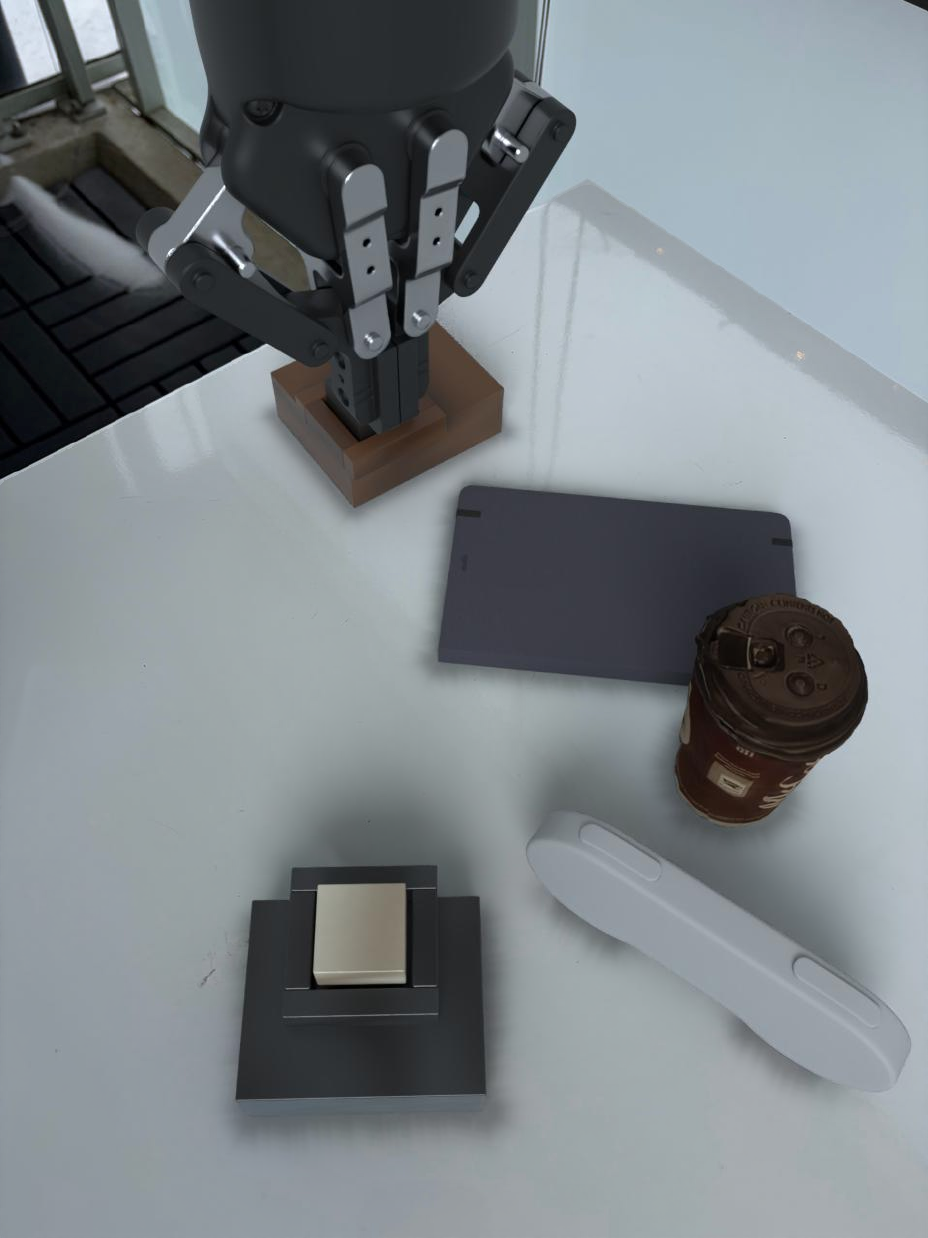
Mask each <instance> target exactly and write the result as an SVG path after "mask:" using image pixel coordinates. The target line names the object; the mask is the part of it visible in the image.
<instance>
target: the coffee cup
mask: <svg viewBox="0 0 928 1238" xmlns="http://www.w3.org/2000/svg"><path fill="white" fill-rule="evenodd" d="M706 619H707V621H706V622H705V623H704V624H703V628H702V629H701V632H700V634H698V635H697V636H696V637H695V642H696V644H697V656H696V659H695V661H694V667H693V671H692V676H691V680H690V684H689V686H688V689H687V698H686V705H685V708H684V712H683V717H682V720H681V723H680V727H679V733H678V738H679V743H680V745H679V747H678V749H677V752H676V755H675V761H674V762H675V763H674V768H673V776H674V778H675V783H676V788H677V794H678V795H679V798H681V800H682V801H684V802H685V803H686V804H687V805H688V806H689V807H690V808H691V809H692V810H693V812H694V813H695V814H696V815H697V816H699V817H702V818H705V820H706V821H707V822H709V823H710V824H715V825H718V826H721V827H724V828H739V827H742V826H747V825H751V824H754V823H757V822H761V821H763V820H764V819H766V818H768V817H769V816H770V815H772V814H773V813H774V812H776V811H777V809H778V808H779V806H780V805H781V804H782V803H783V802H784V800H786V798H787V796H788V795H790V794H792V792H794V791H795V789H796V788H797V787H798V786H799V785H800V783H801V782H802V781H803V780H804V779H805V778H806V776H808V774H809V773H810V772H811V771H812V769H814V768H815V766H816V765H818V763H819V762H820V761H821V760H822V759H823V758H824V757H825V756H827V755H830V754H831V753H833V752H835V751H837V750H838V749H839V748H840V747H843V745H844V744H846V742H847V741H848V740H849V739H850V738H851V737H852V735H853V734H854V732H855V730H857V728H858V727H859V725H861V722H862V720H863V717H864V715H865V712H866V709H867V705H868V702H869V681H868V676H867V671H866V667H865V663H864V660H863V659H862V656H861V654H860V652H859V651H858V649H857V648H856V646H855V643H854V639H853V638H852V635H851V634H850V632H849V630H848V628H846V626H844V624H843V622H842V620H841V619H839V618H838V617H836V616H834V615H833V614H832V613H831V612H830V611H829V610H828V609H826V608H823V607H822V606H820V605H818V604H815V603H812V602H811V601H809V600H808V599H807V598H802V597H798V596H797V595H796V596H794V595H789V594H784V593H776V594H775V595H773V596H770V595H764V596H762V595H760V597H757V598H754V597H752V598H750V599H748V600H745V601H742V602H738V603H733V604H730V605H728V606H725V607H723V608H721V609H719V610H717V611H715V612H714V613H713V614H711V615H708V616H706Z"/></svg>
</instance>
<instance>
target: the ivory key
mask: <svg viewBox="0 0 928 1238" xmlns="http://www.w3.org/2000/svg"><path fill="white" fill-rule="evenodd" d="M406 955H407V895H406V884H405V883H378V884H320V885H318V888H317V907H316V927H315V946H314V965H313V973H314V976H315V979H316V981H317V984H318V985H364V984H405V983H406Z"/></svg>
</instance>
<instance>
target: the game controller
mask: <svg viewBox="0 0 928 1238" xmlns="http://www.w3.org/2000/svg"><path fill="white" fill-rule="evenodd" d="M525 856H526V861H527V863H528V865H529V868H530V869H531V871H532V872H533V874H534V875H535V877H536V878H537V880H538V881H539V882H540V883H541V884H542V885H543V887H544V888H545V889H546V890H547V891H548V892H549V893H550V894H551V895H552V896H553V897H554V898H555V899H556V900H557V901H559V902H560V903H561V904H562V905H563V906H564V907H566V908H567V909H568V910H569V911H571V912H572V913H573V914H575V915H576V916H577V917H579V918H580V919H582V921H584V922H585V923H588V925H591V926H592V927H594V928H595V929H597V930H599V931H600V932H603V933H605V934H607V935H608V936H611V937H612V938H615V939H616V940H619V941H621V942H623V943H626V944H629V945H630V946H632V947H634V948H635V949H637V950H638V951H640V952H641V953H643V954H644V955H646V956H647V957H649V959H652V960H653V961H655V962H656V963H658V964H659V965H661V966H662V967H664V968H665V969H666V970H668V971H669V972H671V973H673V974H674V975H676V976H677V977H679V978H680V979H681V980H683V981H685V982H686V983H688V984H689V985H690V986H692V987H693V988H695V989H696V990H697V991H699V992H701V993H702V994H704V995H705V996H707V997H708V998H710V999H711V1000H713V1001H714V1002H716V1003H717V1004H719V1005H720V1006H722V1007H723V1008H725V1009H726V1010H728V1012H731V1013H732V1014H733V1015H735V1016H736V1017H737V1018H739V1019H740V1020H741V1021H742V1022H743V1023H744V1024H746V1026H747V1027H748V1028H749V1029H751V1031H753V1032H754V1033H755V1034H756V1035H757V1037H759V1038H760V1039H762V1041H763V1042H765V1043H766V1044H768V1045H769V1046H770V1047H772V1048H773V1049H774V1050H776V1051H777V1052H779V1053H780V1054H781V1055H783V1056H785V1057H786V1058H787V1059H789V1060H791V1061H792V1062H794V1063H795V1064H797V1065H799V1066H801V1068H804V1069H805V1070H808V1071H809V1072H812V1073H813V1074H815V1075H816V1076H819V1077H821V1078H823V1079H826V1080H827V1081H830V1082H833V1083H835V1084H837V1085H839V1086H842V1087H846V1088H849V1089H851V1090H852V1089H853V1090H855V1091H861V1092H864V1093H865V1092H866V1093H874V1094H875V1093H885V1092H888V1091H890V1090H891V1089H893V1088H894V1087H895V1085H897V1083H898V1080H899V1078H900V1077H901V1073H902V1071H903V1069H904V1067H905V1064H906V1063H907V1060H908V1058H909V1055H910V1053H911V1050H912V1041H911V1037H910V1034H909V1031H908V1029H907V1028H906V1026H905V1025H904V1023H903V1022H902V1020H901V1019H900V1017H898V1015H897V1014H896V1013H895V1012H894V1011H893V1009H891V1008H890V1007H889V1005H888V1004H886V1002H884V1001H883V1000H882V999H881V998H879V996H877V995H876V994H875V993H873V992H872V991H871V990H870V989H868V988H867V987H866V986H864V985H863V984H862V983H860V982H858V981H857V980H855V979H854V978H852V977H851V976H850V975H848V974H847V973H845V972H843V971H842V970H840V969H839V968H837V967H836V966H834V965H833V964H831V963H829V962H828V961H826V960H825V959H823V958H822V957H821V956H819V955H817V954H816V953H814V952H812V951H811V950H810V949H807V948H806V947H805V946H803V945H802V944H800V943H799V942H797V941H795V940H793V939H792V938H791V937H789V936H788V935H786V934H784V933H783V932H781V931H780V930H778V929H776V928H775V927H773V926H772V925H770V924H769V923H768V922H766V921H764V920H762V919H761V918H759V917H757V916H756V915H755V914H753V913H752V912H750V911H748V910H747V909H745V908H743V907H742V906H741V905H739V904H737V903H736V902H734V901H733V900H731V899H730V898H728V897H726V896H725V895H723V894H721V893H720V892H719V891H717V890H716V889H714V888H712V887H710V886H709V885H708V884H706V883H704V882H702V881H701V880H700V879H699V878H696V877H694V876H693V875H692V874H690V873H689V872H687V871H686V870H684V869H682V868H681V867H679V866H677V865H676V864H674V863H673V862H671V861H670V860H668V859H667V858H665V857H663V856H661V854H658V853H657V852H655V851H653V849H651V848H649V847H647V846H646V845H644V844H643V843H642V842H639V841H638V840H636V839H635V838H633V837H631V836H630V835H628V834H627V833H625V832H623V831H622V830H620V829H618V828H617V827H615V826H614V825H612V824H610V823H608V822H606V821H604V820H602V819H599V818H597V817H594V816H592V815H589V814H586V813H582V812H578V811H575V810H574V811H573V810H561V809H560V810H556V811H553V812H550V813H549V814H547V816H546V817H545V818H544V819H543V820H542V822H541V823H540V824H539V826H538V828H537V829H536V830H535V831H534V833H533V834H532V836H531V837H530V839H528V842H527V844H526V846H525Z"/></svg>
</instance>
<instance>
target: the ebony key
mask: <svg viewBox="0 0 928 1238" xmlns="http://www.w3.org/2000/svg"><path fill="white" fill-rule="evenodd" d="M324 383H325V392H326V400H327V404H328V405H329V406H330V407H331V408H332V410H333V411H334V412H335V413H336V414H337V415H338V416H339V418H340V419H341V420H342V421H343V422H344V423H345V424H346V426H347V427H348V428H349V429H350V430H351V431H352V433H353V434H354V435H355V436H356V437H357V438H358V439H359V441H360V442H361V441H363V440H365V439H367V438H369V437H371V436H373V435H375V434H377V433H376V432H375V431H374V430H373V429H372V428H371V427H370V425H369V424H367V425H365V426H363V427H362V426H361V425H360V423H359V422H358V421H357V420H356V419H355V418H354V417H353V416H352V414H351V413H350V412H349V411H348V410H347V409H346V408H345V406H344V405H343V404H342V403H341V402H340V401H339V400H338V398H337V397H336V396H335V394H334V393H333V388H332V378H331V377H329V378H327V379H325V380H324Z"/></svg>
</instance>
